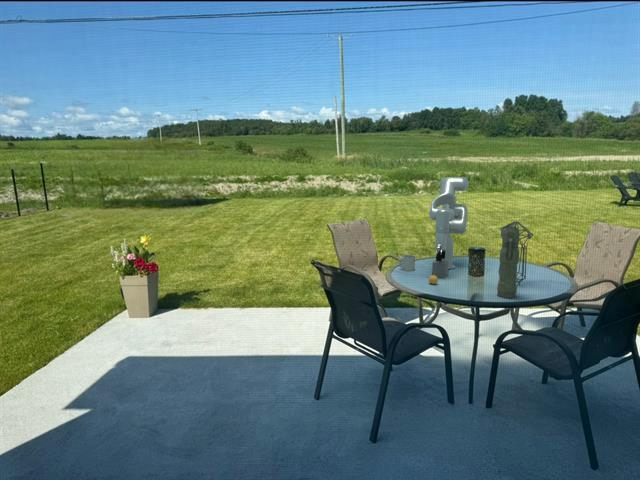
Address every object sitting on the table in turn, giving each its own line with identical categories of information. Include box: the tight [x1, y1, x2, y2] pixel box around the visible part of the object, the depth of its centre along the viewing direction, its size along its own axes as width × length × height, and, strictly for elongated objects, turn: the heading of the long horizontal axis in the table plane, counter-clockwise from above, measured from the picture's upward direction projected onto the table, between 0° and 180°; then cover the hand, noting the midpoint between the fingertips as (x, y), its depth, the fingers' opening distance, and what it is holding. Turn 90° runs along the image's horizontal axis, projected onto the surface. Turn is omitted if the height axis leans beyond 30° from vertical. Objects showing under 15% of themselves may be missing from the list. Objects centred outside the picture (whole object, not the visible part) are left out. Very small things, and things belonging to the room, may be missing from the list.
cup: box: [398, 254, 416, 272], centre depth 281 cm, size 7×10×9 cm
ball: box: [428, 274, 439, 285], centre depth 248 cm, size 5×5×5 cm
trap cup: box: [431, 259, 449, 279], centre depth 265 cm, size 8×8×9 cm
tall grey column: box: [496, 226, 521, 299], centre depth 224 cm, size 9×12×35 cm
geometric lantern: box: [498, 221, 534, 286], centre depth 247 cm, size 16×16×35 cm
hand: (440, 259), depth 263 cm, fingers open, 9 cm apart
